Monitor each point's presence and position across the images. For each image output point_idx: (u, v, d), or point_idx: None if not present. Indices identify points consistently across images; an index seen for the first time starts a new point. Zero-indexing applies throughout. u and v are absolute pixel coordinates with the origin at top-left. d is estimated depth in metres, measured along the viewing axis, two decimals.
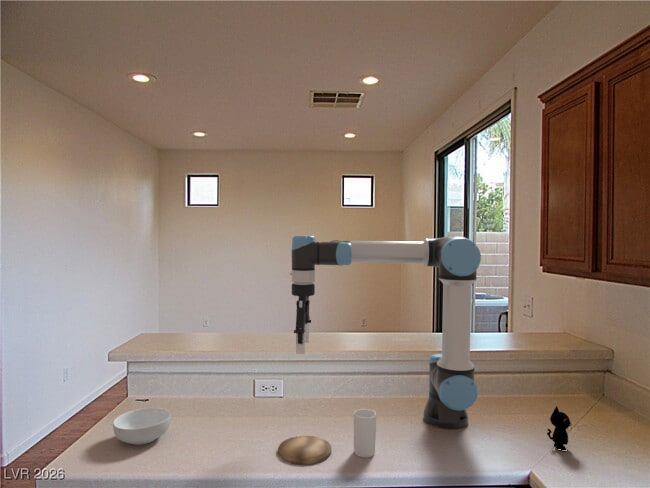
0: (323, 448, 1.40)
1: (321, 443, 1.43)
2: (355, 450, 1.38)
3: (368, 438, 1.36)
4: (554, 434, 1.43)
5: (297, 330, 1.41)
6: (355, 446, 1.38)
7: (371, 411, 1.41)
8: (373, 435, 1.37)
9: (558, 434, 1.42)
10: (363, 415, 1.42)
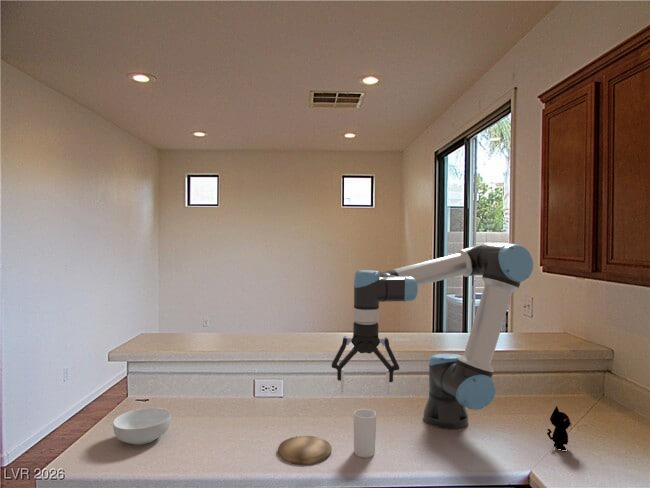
0: (323, 448, 1.40)
1: (321, 443, 1.43)
2: (355, 450, 1.38)
3: (368, 438, 1.36)
4: (554, 434, 1.43)
5: None
6: (355, 446, 1.38)
7: (371, 411, 1.41)
8: (373, 435, 1.37)
9: (558, 434, 1.42)
10: (363, 415, 1.42)
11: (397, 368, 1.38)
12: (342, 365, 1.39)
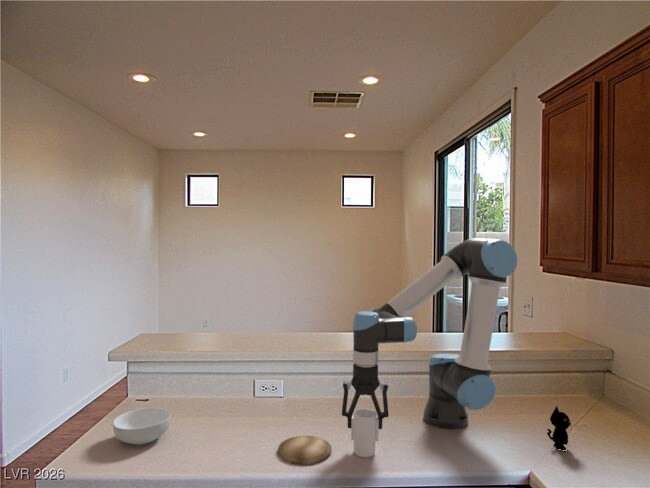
0: (323, 448, 1.40)
1: (321, 443, 1.43)
2: (355, 450, 1.38)
3: (368, 438, 1.36)
4: (554, 434, 1.43)
5: None
6: (355, 446, 1.38)
7: (371, 411, 1.41)
8: (373, 435, 1.37)
9: (558, 434, 1.42)
10: (363, 415, 1.42)
11: (386, 415, 1.39)
12: (351, 412, 1.39)
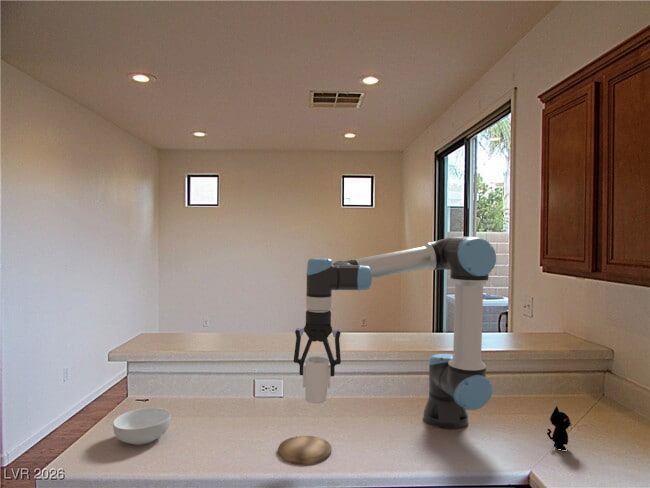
0: (323, 448, 1.40)
1: (321, 443, 1.43)
2: (306, 396, 1.36)
3: (319, 384, 1.34)
4: (554, 434, 1.43)
5: None
6: (306, 392, 1.36)
7: (324, 358, 1.39)
8: (324, 381, 1.35)
9: (558, 434, 1.42)
10: (316, 363, 1.40)
11: (338, 362, 1.37)
12: (303, 359, 1.38)
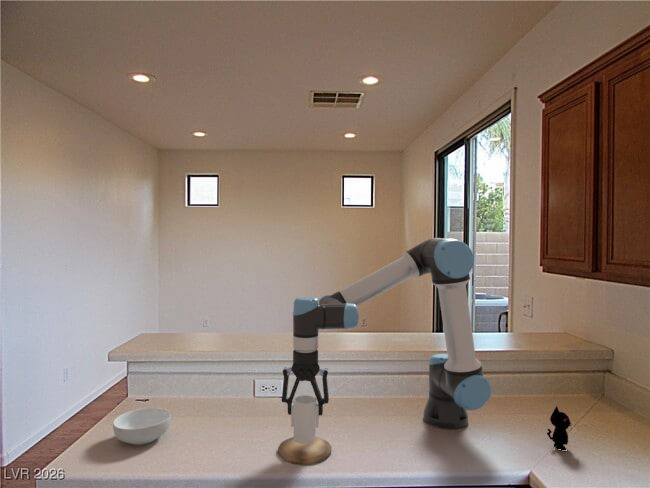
0: (323, 448, 1.40)
1: (321, 443, 1.43)
2: (294, 436, 1.37)
3: (307, 424, 1.35)
4: (554, 434, 1.43)
5: None
6: (294, 432, 1.36)
7: (312, 397, 1.40)
8: (312, 421, 1.36)
9: (558, 434, 1.42)
10: (304, 401, 1.41)
11: (326, 401, 1.38)
12: (291, 398, 1.38)
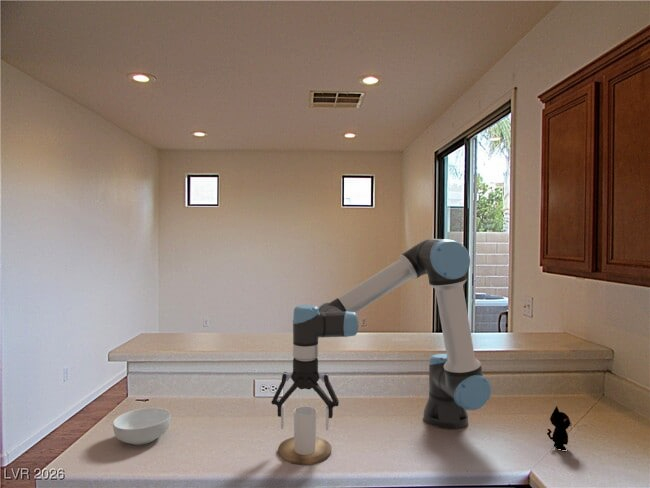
0: (323, 448, 1.40)
1: (321, 443, 1.43)
2: (295, 447, 1.37)
3: (307, 435, 1.35)
4: (554, 434, 1.43)
5: None
6: (295, 443, 1.37)
7: (312, 408, 1.40)
8: (313, 432, 1.36)
9: (558, 434, 1.42)
10: (305, 412, 1.41)
11: (336, 404, 1.37)
12: (282, 401, 1.38)
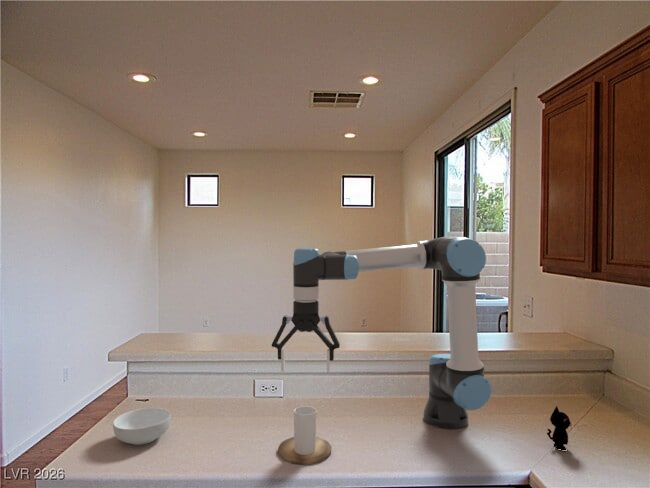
0: (323, 448, 1.40)
1: (321, 443, 1.43)
2: (295, 447, 1.37)
3: (307, 435, 1.35)
4: (554, 434, 1.43)
5: None
6: (295, 443, 1.37)
7: (312, 408, 1.40)
8: (313, 432, 1.36)
9: (558, 434, 1.42)
10: (305, 412, 1.41)
11: (337, 346, 1.37)
12: (282, 344, 1.38)
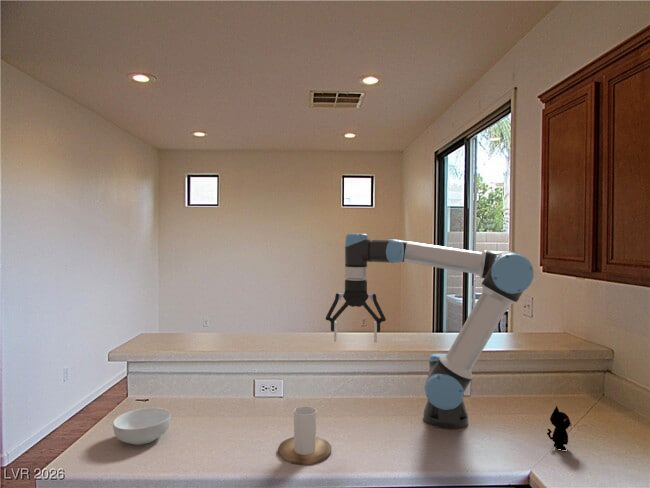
0: (323, 448, 1.40)
1: (321, 443, 1.43)
2: (295, 447, 1.37)
3: (307, 435, 1.35)
4: (554, 434, 1.43)
5: None
6: (295, 443, 1.37)
7: (312, 408, 1.40)
8: (313, 432, 1.36)
9: (558, 434, 1.42)
10: (305, 412, 1.41)
11: (384, 319, 1.56)
12: (335, 317, 1.57)
